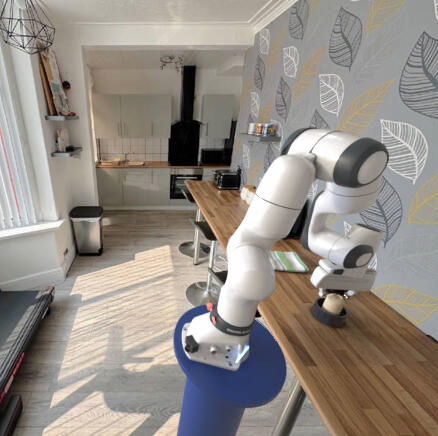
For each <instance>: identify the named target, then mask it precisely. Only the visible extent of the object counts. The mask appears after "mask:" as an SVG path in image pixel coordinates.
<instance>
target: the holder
mask: <svg viewBox="0 0 438 436" xmlns="http://www.w3.org/2000/svg"><path fill="white" fill-rule="evenodd" d="M325 299H326V297H320V296H319V297H317V298H316V300H315V301H314V303H313V306H312V308H311V313H312V315H313V317H314V318H315V319H316V320H318V321H319V322H321V323H322V324H324V325H327V326H329V327H333V328H341V327H342V326H343V325H344V323H345V321H346V319H348V315H349V311H348V310H347V308H346V307H345V305H344V306H343V308H342V310H341V312H340V314H339V316H335V315H332V314H330V313H328V312H326V311H324V310H323V309H322V306H323V303H324V301H325Z"/></svg>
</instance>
